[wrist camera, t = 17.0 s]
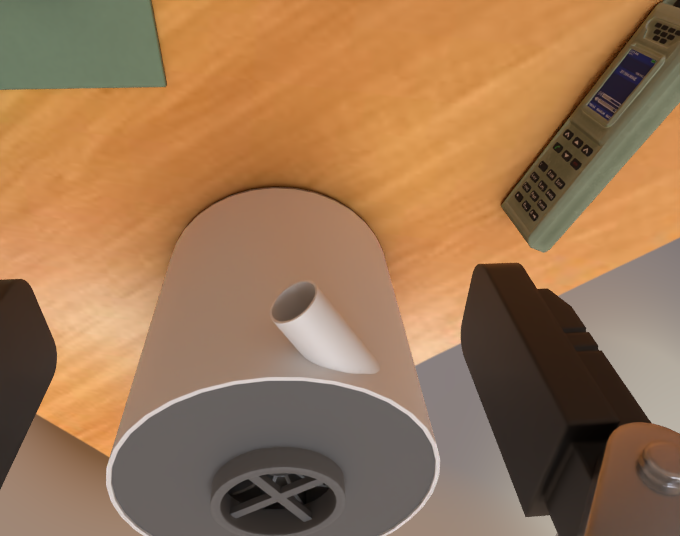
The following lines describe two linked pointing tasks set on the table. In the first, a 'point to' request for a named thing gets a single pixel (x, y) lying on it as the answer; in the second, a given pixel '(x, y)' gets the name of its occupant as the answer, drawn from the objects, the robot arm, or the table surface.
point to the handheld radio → (601, 131)
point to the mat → (79, 44)
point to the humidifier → (274, 382)
